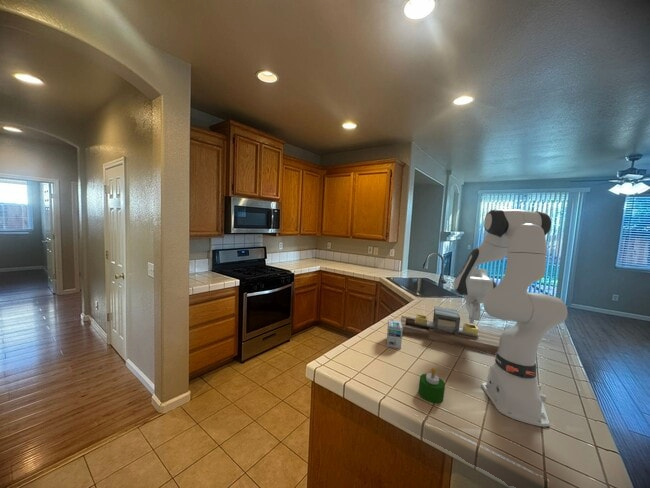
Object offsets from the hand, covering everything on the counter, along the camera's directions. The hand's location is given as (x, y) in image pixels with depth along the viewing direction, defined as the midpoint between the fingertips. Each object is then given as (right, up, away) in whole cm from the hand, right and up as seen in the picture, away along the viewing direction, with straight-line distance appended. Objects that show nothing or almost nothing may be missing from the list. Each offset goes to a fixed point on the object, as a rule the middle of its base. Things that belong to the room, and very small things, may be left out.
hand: (471, 322), depth 138 cm
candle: (-41, -12, -47) cm, 64 cm away
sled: (-12, -5, +5) cm, 14 cm away
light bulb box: (-44, -8, -8) cm, 46 cm away
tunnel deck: (-10, -10, +4) cm, 14 cm away
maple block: (-12, -5, +5) cm, 14 cm away
